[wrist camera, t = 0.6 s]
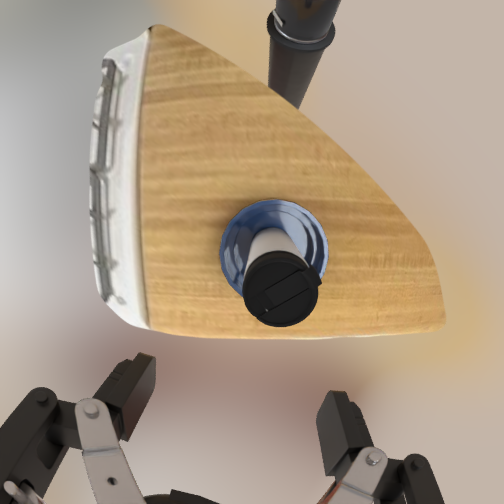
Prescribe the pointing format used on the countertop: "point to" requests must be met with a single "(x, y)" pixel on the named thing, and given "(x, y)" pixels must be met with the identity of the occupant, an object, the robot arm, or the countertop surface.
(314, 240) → the bowl
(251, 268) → the travel mug
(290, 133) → the countertop surface
